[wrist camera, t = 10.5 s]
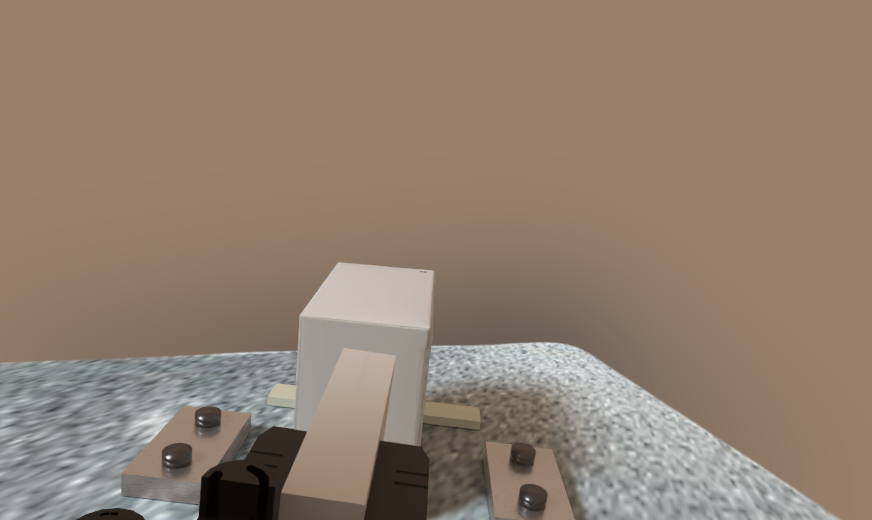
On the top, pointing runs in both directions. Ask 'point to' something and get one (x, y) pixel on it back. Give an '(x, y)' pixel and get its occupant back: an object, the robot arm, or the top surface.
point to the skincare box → (369, 339)
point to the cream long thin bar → (432, 415)
